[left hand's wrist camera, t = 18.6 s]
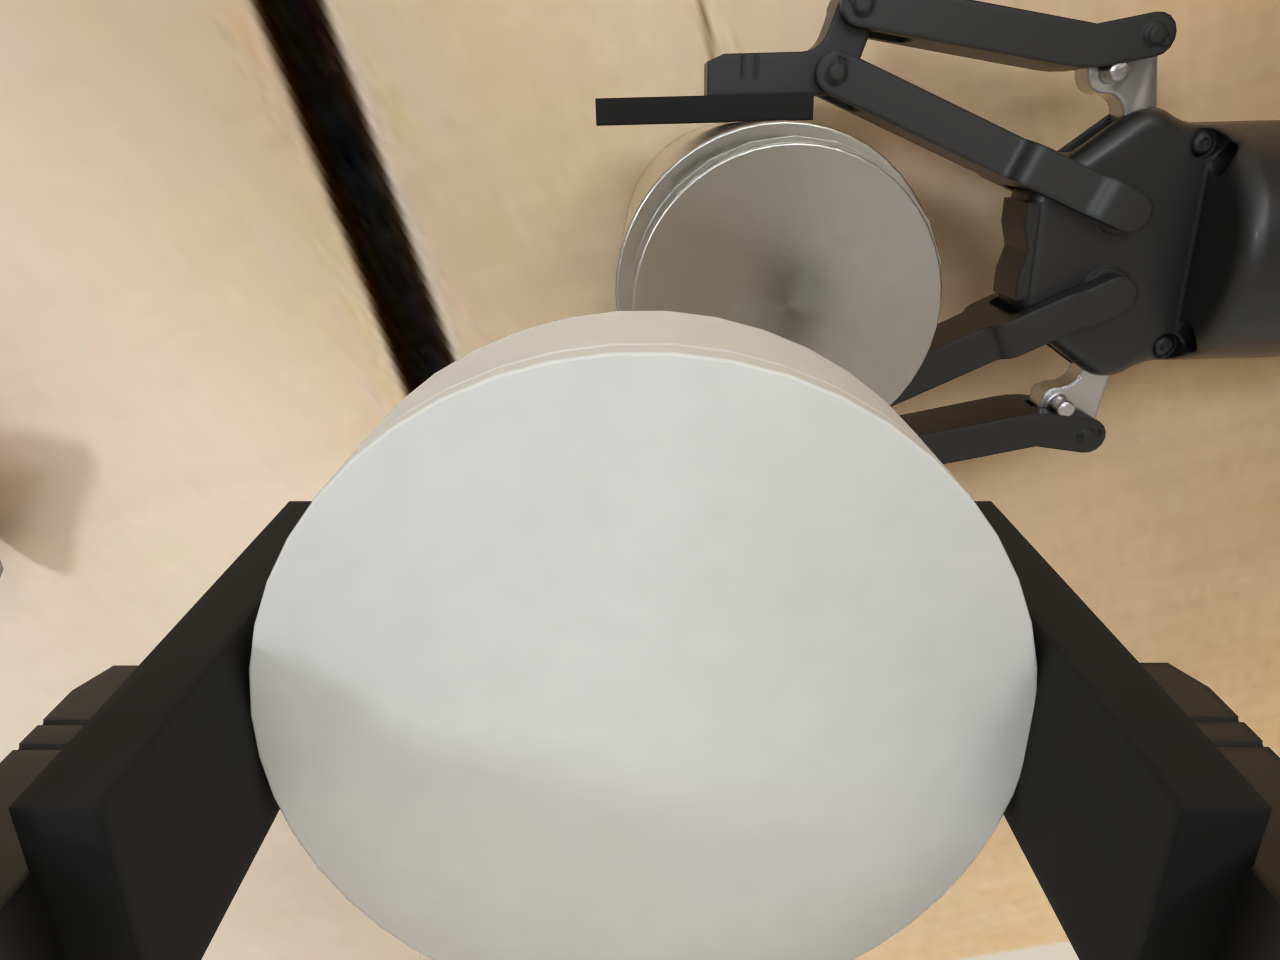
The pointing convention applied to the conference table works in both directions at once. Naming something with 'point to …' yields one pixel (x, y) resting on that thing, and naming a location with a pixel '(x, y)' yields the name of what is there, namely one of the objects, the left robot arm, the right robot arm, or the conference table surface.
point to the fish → (1, 568)
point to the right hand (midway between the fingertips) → (604, 258)
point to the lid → (643, 656)
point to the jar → (788, 244)
